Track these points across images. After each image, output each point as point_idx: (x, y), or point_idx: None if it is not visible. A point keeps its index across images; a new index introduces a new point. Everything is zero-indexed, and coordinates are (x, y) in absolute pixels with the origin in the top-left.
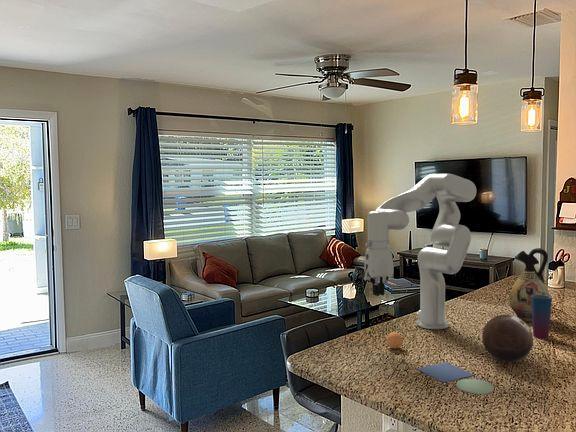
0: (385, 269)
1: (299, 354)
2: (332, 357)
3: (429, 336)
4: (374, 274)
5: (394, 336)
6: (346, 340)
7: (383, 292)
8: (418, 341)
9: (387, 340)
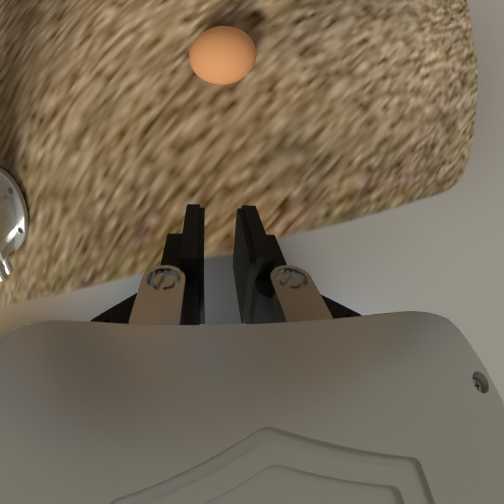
0: (178, 470)
1: (443, 188)
2: (417, 122)
3: (42, 117)
4: (441, 339)
5: (241, 36)
6: (302, 206)
7: (193, 214)
8: (99, 82)
9: (254, 62)
